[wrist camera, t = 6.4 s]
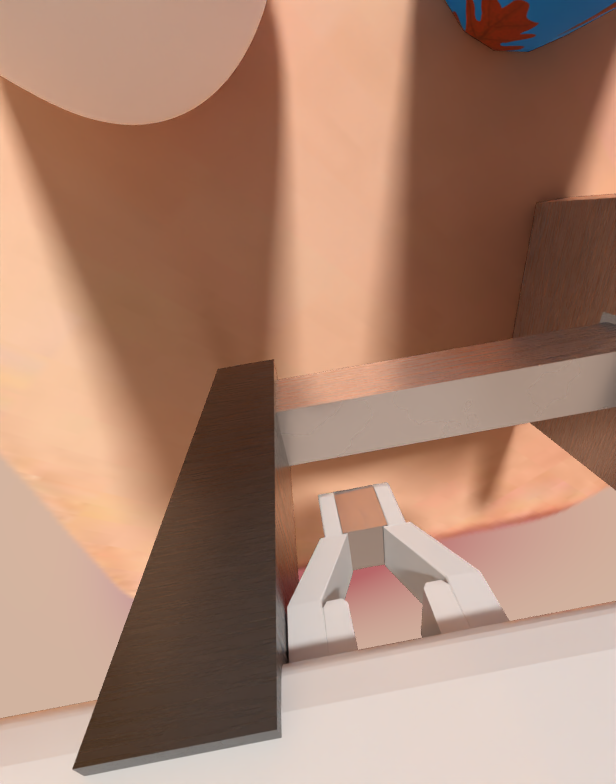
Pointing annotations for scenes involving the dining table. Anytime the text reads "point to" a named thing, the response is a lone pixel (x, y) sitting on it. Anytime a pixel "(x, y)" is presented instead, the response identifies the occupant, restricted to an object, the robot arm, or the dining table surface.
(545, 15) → the thermos
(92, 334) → the dining table surface
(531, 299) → the bearing wall
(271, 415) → the shaft
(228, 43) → the vase
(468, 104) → the dining table surface
